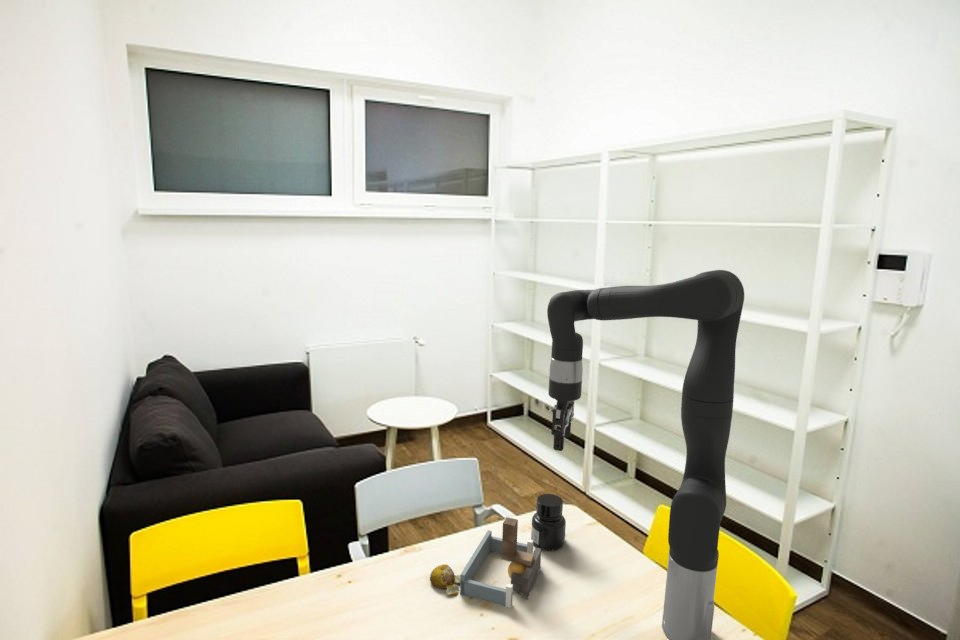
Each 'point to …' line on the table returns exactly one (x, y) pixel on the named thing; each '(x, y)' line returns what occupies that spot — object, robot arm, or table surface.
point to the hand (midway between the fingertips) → (562, 443)
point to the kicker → (519, 559)
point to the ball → (516, 568)
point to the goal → (474, 564)
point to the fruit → (445, 579)
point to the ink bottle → (548, 523)
